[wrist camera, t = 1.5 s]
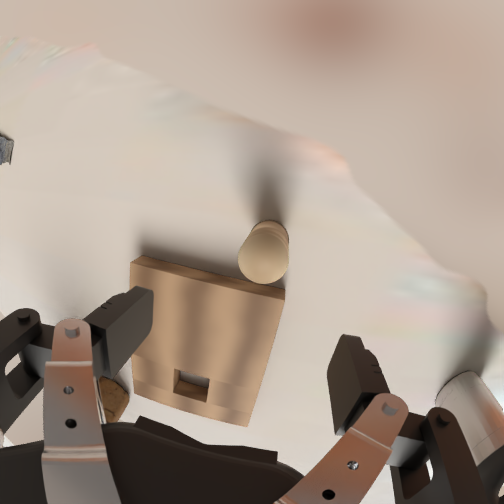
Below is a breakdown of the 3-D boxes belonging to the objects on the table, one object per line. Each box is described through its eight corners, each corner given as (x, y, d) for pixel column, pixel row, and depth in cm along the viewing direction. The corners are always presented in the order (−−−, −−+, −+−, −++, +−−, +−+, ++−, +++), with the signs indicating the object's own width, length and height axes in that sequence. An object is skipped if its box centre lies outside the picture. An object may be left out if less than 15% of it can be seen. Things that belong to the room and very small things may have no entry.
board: (285, 289, 32) (284, 300, 29) (249, 413, 38) (247, 427, 35) (142, 255, 33) (130, 262, 30) (142, 382, 39) (134, 393, 36)
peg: (292, 220, 30) (294, 240, 20) (284, 254, 31) (282, 289, 21) (256, 212, 30) (242, 229, 21) (249, 246, 31) (233, 278, 22)
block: (102, 367, 40) (37, 442, 21) (136, 394, 40) (82, 477, 21) (89, 392, 43) (37, 457, 24) (119, 416, 43) (73, 485, 24)
